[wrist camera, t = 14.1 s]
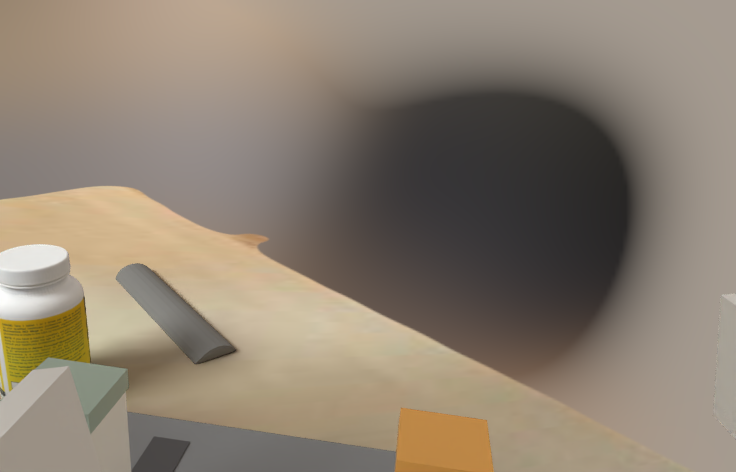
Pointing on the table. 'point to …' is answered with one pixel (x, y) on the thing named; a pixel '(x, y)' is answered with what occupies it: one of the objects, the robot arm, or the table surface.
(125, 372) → the lever
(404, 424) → the white orange rectangular block
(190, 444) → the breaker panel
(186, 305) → the half round rod
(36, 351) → the pill bottle
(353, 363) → the table surface
